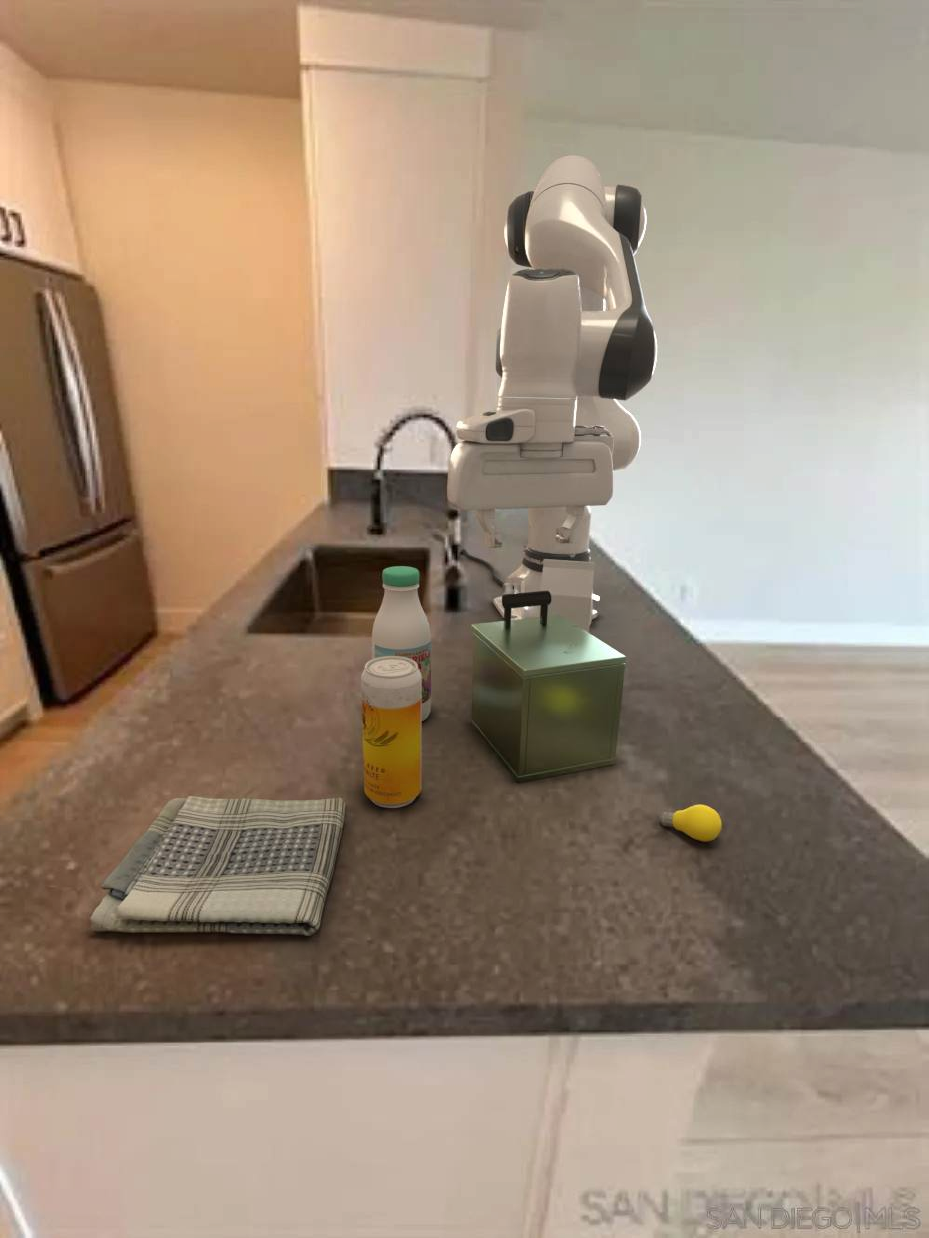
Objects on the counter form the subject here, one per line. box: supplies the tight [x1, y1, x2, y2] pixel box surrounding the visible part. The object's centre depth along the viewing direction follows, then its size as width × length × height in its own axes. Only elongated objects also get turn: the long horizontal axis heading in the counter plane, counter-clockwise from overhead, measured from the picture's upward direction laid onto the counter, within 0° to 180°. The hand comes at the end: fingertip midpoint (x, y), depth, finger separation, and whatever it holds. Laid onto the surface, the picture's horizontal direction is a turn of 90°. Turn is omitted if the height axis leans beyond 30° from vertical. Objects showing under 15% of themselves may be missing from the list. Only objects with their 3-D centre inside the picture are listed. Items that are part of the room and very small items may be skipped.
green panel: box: [470, 591, 627, 677], centre depth 79 cm, size 15×13×5 cm
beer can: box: [360, 656, 423, 809], centre depth 70 cm, size 6×6×15 cm
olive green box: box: [470, 632, 626, 784], centre depth 82 cm, size 15×13×13 cm
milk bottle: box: [371, 565, 432, 722], centre depth 87 cm, size 8×8×20 cm
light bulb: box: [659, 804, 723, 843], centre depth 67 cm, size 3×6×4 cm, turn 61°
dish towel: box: [89, 795, 347, 937], centre depth 60 cm, size 19×18×3 cm
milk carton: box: [538, 559, 596, 634], centre depth 98 cm, size 7×7×19 cm
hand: (529, 544), depth 81 cm, fingers open, 8 cm apart
